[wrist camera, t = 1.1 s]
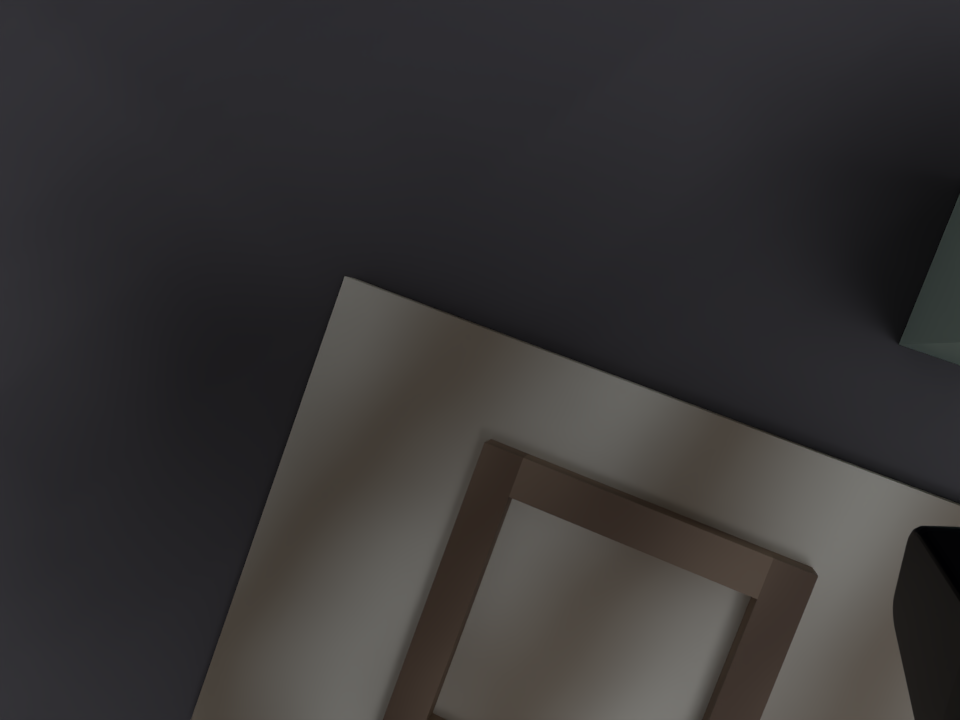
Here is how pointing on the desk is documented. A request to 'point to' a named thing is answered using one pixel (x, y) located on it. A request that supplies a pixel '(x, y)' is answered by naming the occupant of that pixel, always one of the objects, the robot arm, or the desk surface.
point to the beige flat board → (552, 548)
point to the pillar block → (939, 301)
